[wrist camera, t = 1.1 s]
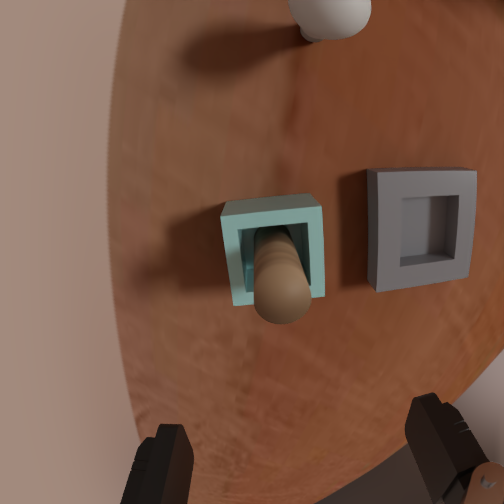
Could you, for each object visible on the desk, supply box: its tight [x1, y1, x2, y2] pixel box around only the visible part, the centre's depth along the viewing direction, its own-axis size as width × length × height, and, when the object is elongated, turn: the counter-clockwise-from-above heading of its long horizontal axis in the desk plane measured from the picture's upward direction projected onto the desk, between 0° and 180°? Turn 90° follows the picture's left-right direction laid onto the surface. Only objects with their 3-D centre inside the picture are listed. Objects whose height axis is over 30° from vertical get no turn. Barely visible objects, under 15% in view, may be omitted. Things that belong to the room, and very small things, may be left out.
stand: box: [367, 167, 477, 292], centre depth 30 cm, size 12×12×3 cm
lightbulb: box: [288, 0, 371, 42], centre depth 20 cm, size 6×6×11 cm
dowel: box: [254, 225, 311, 324], centre depth 25 cm, size 4×4×12 cm
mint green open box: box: [220, 193, 325, 306], centre depth 29 cm, size 8×8×6 cm
